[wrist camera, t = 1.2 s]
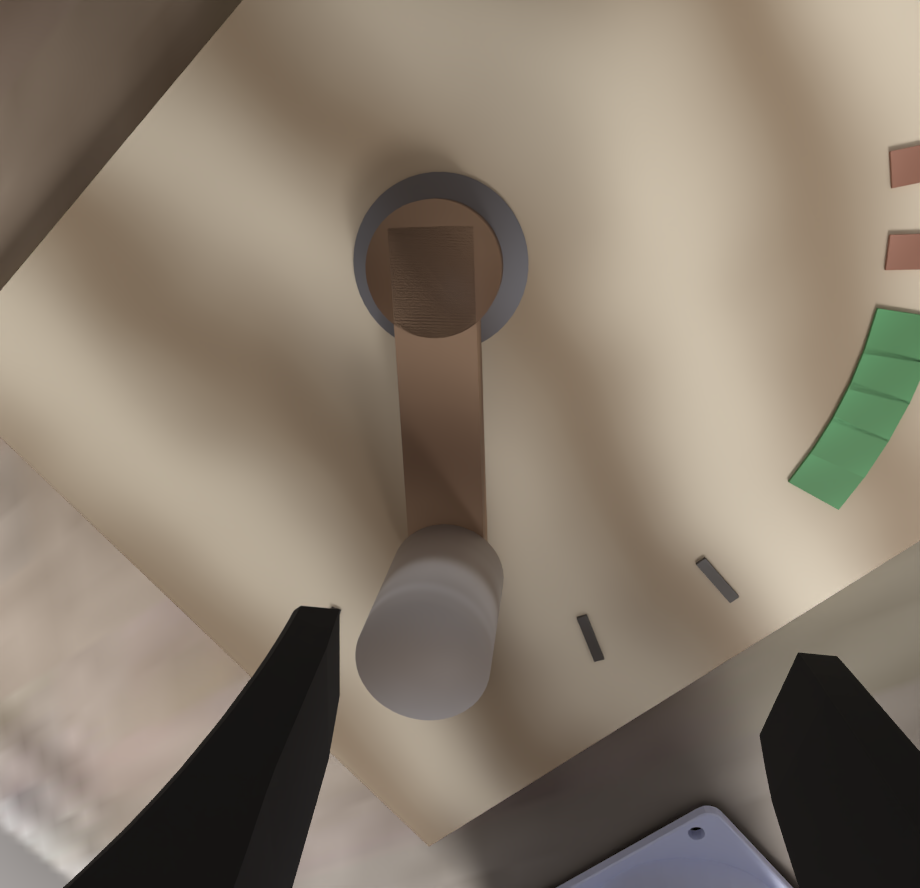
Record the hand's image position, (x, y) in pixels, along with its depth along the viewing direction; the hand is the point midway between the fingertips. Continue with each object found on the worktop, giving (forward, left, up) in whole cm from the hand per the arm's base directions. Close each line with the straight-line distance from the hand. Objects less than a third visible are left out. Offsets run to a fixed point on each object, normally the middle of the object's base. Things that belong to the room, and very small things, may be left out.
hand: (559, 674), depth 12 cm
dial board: (+1, +3, -10) cm, 11 cm away
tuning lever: (-2, +2, -9) cm, 9 cm away
